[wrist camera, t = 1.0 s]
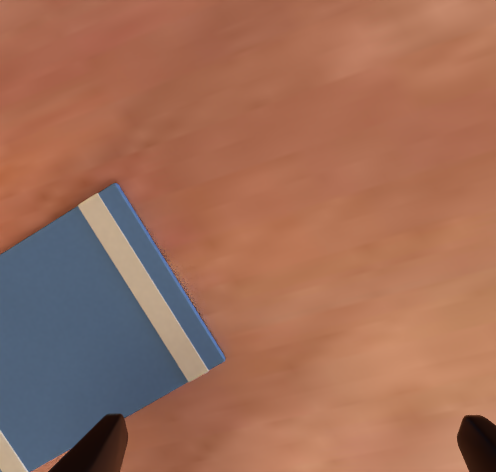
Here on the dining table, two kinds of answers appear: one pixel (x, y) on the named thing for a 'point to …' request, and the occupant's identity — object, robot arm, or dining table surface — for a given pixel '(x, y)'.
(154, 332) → the towel
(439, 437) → the dining table surface
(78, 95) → the dining table surface
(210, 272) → the dining table surface
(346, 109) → the dining table surface
